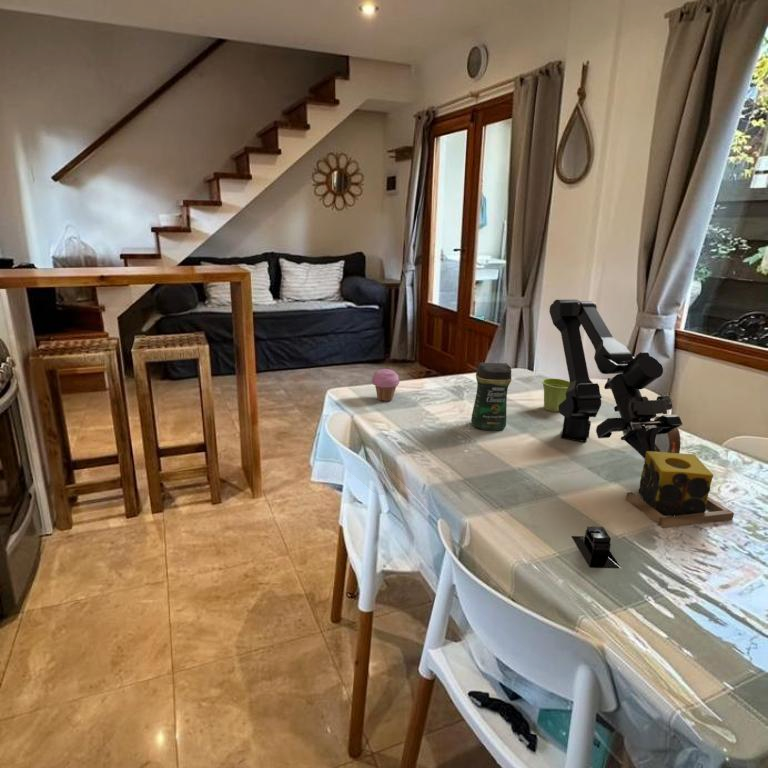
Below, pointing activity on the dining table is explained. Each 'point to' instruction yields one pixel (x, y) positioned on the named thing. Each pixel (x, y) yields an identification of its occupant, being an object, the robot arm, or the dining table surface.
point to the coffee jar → (491, 396)
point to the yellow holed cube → (675, 483)
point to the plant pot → (554, 393)
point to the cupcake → (385, 383)
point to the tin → (668, 441)
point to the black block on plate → (596, 548)
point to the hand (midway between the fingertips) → (651, 462)
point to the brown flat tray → (717, 515)
